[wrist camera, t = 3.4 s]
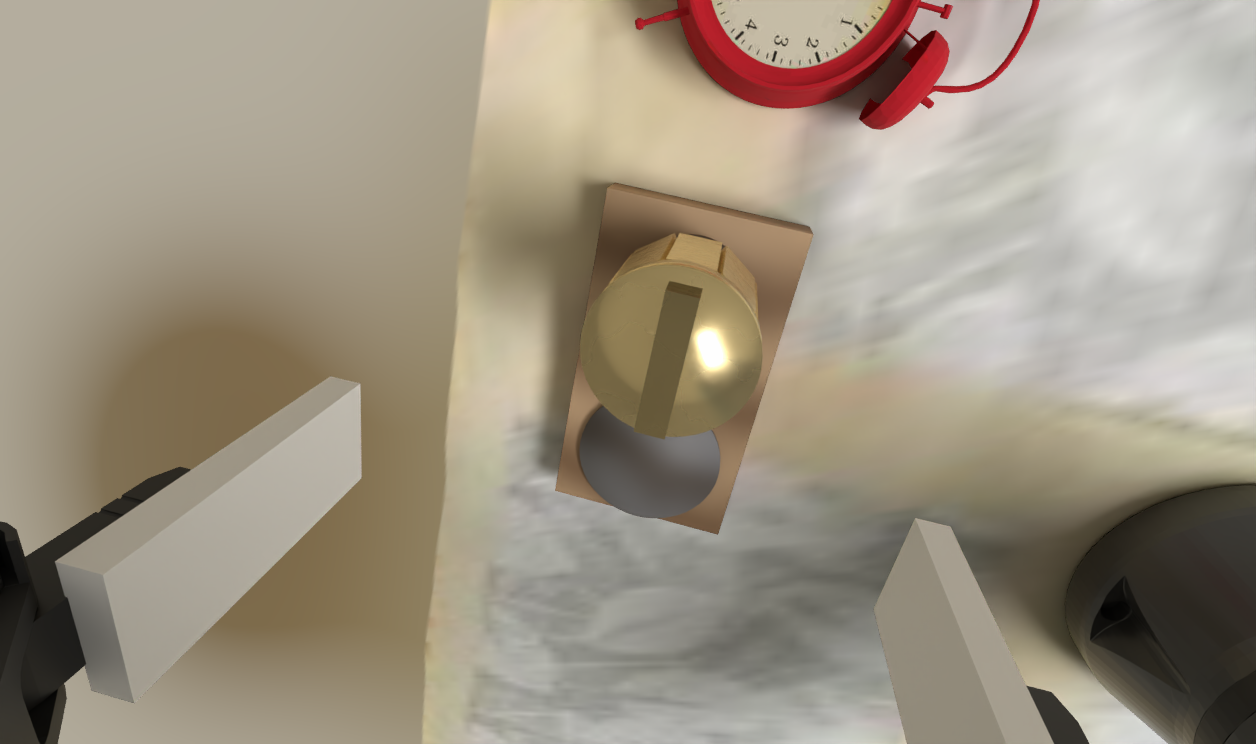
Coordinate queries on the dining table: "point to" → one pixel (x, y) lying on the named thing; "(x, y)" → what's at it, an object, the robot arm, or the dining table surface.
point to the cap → (675, 338)
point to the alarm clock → (818, 50)
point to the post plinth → (692, 465)
